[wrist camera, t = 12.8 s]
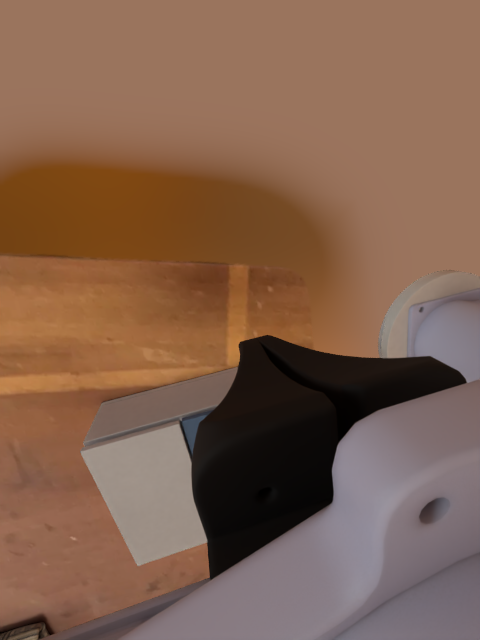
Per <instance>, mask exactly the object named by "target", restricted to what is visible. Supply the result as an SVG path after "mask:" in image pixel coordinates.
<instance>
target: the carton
mask: <svg viewBox="0 0 480 640" xmlns="http://www.w3.org/2000/svg"><path fill="white" fill-rule="evenodd" d="M237 370H238V367H235V368H231V369H227V370H224V371H220V372H216V373H212V374H209V375H205V376H201V377H197V378H193V379H190V380H186V381H182V382H178V383H174V384H171V385H167V386H163V387H159V388H156V389H152V390H148V391H144V392H140V393H137V394H133V395H129V396H125V397H121V398H118V399H114V400H110V401H106V402H103V403H102V404H101V406H100V408H99V410H98V412H97V414H96V416H95V419H94V421H93V423H92V425H91V427H90V429H89V431H88V433H87V435H86V437H85V440H84V442H83V443H84V445H85V447H83V448H82V449H81V451H80V453H81V455H82V457H83V459H84V461H85V463H86V464H87V466H88V468H89V470H90V472H91V474H92V476H93V478H94V480H95V482H96V484H97V486H98V488H99V490H100V492H101V494H102V496H103V498H104V500H105V502H106V504H107V506H108V508H109V510H110V512H111V514H112V516H113V518H114V520H115V522H116V524H117V526H118V528H119V530H120V532H121V534H122V536H123V538H124V540H125V542H126V544H127V546H128V548H129V550H130V552H131V554H132V556H133V558H134V560H135V562H136V564H137V566H140V565H143V564H146V563H148V562H151V561H154V560H157V559H160V558H163V557H166V556H169V555H172V554H175V553H177V552H180V551H183V550H186V549H189V548H192V547H195V546H198V545H201V544H204V543H206V542H207V538H206V535H205V532H204V529H203V526H202V523H201V520H200V517H199V514H198V511H197V508H196V506H195V503H194V499H193V492H192V478H191V465H192V453H191V450H190V447H189V444H188V441H187V438H186V435H185V431H184V428H183V425H182V418H184V417H188V416H192V415H196V414H199V413H203V412H207V411H210V410H214V409H215V408H216V407H217V406H218V405H219V404H220V403H221V401H222V400H223V399H224V397H225V396H226V394H227V393H228V391H229V389H230V387H231V385H232V383H233V381H234V379H235V376H236V373H237Z"/></svg>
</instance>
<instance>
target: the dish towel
mask: <svg viewBox="0 0 480 640" xmlns="http://www.w3.org/2000/svg"><path fill="white" fill-rule="evenodd" d="M47 636H50V634H49V632H48V631H47V630H46V627H45V623H43V622H41V623H37V624H31V625H27V626H23V627H20V628H17V629H14V630H11V631H8V632H5V633H2V634H0V640H39V639H42V638H45V637H47Z"/></svg>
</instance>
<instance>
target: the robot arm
mask: <svg viewBox="0 0 480 640" xmlns="http://www.w3.org/2000/svg"><path fill="white" fill-rule="evenodd" d="M420 307H421V308H420ZM419 309H420V310H419ZM239 350H240V362H239V366H238V370H237V373H236V376H235V379H234V381H233V383H232V385H231V387H230V389H229V391H228V393H227V394H226V396H225V397H224V399H223V400H222V401H221V403H220V404H219V405H218V406H217V407H216V408H215V409H214V410H213V411H212V412H211V413H210V414H209V415H207V416H206V417H205V418H204V419H203V420H202V421H200V423H199V425H198V429H197V433H196V437H195V442H194V448H193V455H192V465H191V478H192V492H193V499H194V503H195V506H196V508H197V511H198V514H199V517H200V520H201V523H202V526H203V529H204V532H205V535H206V538H207V545H208V558H209V571H210V578H208V579H205V580H202V581H199V582H196V583H194V584H191V585H188V586H185V587H183V588H180V589H177V590H174V591H172V592H169V593H166V594H163V595H161V596H158V597H155V598H152V599H150V600H147V601H144V602H141V603H138V604H136V605H133V606H130V607H127V608H125V609H122V610H119V611H116V612H114V613H111V614H108V615H105V616H103V617H100V618H97V619H94V620H92V621H89V622H86V623H83V624H81V625H78V626H75V627H72V628H69V629H67V630H64V631H61V632H58V633H56V634H53V635H50V636H47V637H45V638H42V639H39V640H480V288H477V289H473V290H469V291H465V292H461V293H457V294H453V295H449V296H446V297H442V298H438V299H434V300H430V301H426V302H422V303H418V304H414V305H412V306H411V307H410V308H409V314H408V341H407V357H405V358H361V357H351V356H342V355H335V354H330V353H324V352H319V351H315V350H312V349H308V348H304V347H301V346H298V345H295V344H292V343H289V342H287V341H284V340H281V339H279V338H276V337H273V336H270V335H265V336H262V337H258V338H254V339H250V340H246V341H242V342H240V343H239Z"/></svg>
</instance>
